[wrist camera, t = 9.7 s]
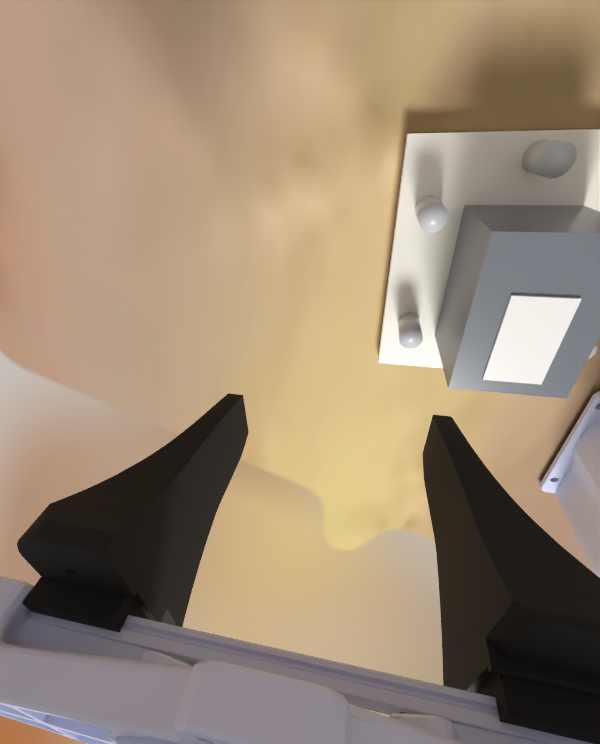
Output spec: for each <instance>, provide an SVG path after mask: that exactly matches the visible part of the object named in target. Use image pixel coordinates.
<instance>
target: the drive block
mask: <svg viewBox="0 0 600 744" xmlns="http://www.w3.org/2000/svg"><path fill="white" fill-rule="evenodd" d="M435 338H436V342H437V346H438V350H439V354H440V358H441V361H442V365H443V369H444V373H445V377H446V381H447V385H448V388H454V389H465V390H476V391H488V392H499V393H510V394H522V395H533V396H544V397H556V398H567V397H568V395H569V393H570V391H571V389H572V388H573V386H574V384H575V382H576V380H577V378H578V376H579V375H580V373H581V371H582V369H583V367H584V365H585V364H586V362H587V360H588V358H589V356H590V354H591V352H592V351H593V349H594V347H595V345H596V343H597V341H598V339H599V338H600V212H599V211H596V210H594V209H591V208H589V207H586V206H578V205H464V209H463V214H462V218H461V223H460V227H459V232H458V236H457V240H456V245H455V249H454V254H453V258H452V262H451V267H450V271H449V276H448V280H447V285H446V289H445V293H444V298H443V302H442V307H441V311H440V316H439V320H438V324H437V329H436V333H435Z"/></svg>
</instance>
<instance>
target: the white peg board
mask: <svg viewBox="0 0 600 744" xmlns="http://www.w3.org/2000/svg"><path fill="white" fill-rule="evenodd" d="M464 205H578V206H586V207H589V208H591V209H594V210H596V211H599V212H600V129H576V130H533V131H491V132H448V133H407V135H406V143H405V151H404V159H403V167H402V174H401V182H400V190H399V198H398V206H397V214H396V221H395V229H394V237H393V245H392V253H391V261H390V269H389V276H388V284H387V292H386V300H385V308H384V316H383V323H382V331H381V339H380V347H379V355H378V363H386V364H398V365H410V366H422V367H434V368H443V365H442V361H441V358H440V354H439V350H438V346H437V342H436V338H435V333H436V329H437V324H438V320H439V316H440V311H441V307H442V302H443V298H444V293H445V289H446V285H447V280H448V276H449V271H450V267H451V262H452V258H453V254H454V249H455V245H456V240H457V236H458V232H459V227H460V223H461V218H462V214H463V209H464ZM597 348H598V347H597V344H596V345H595V347H594V349H593V351H592V352H591V354H590V356H589V358H591V357H592V356H594V355H595V353H596V352H597ZM589 358H588V359H589Z"/></svg>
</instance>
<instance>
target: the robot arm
mask: <svg viewBox="0 0 600 744" xmlns="http://www.w3.org/2000/svg"><path fill="white" fill-rule="evenodd" d="M598 404H600V391H599V392H597V393H595V394H594V395H593V396H592V397H591V399H590V401H589V403H588V404H587V406H586V408H585V409H584V411H583V413H582V414H581V416H580V418H579V419H578V421H577V423H576V424H575V426H574V428H573V429H572V431H571V433H570V434H569V436H568V438H567V439H566V441H565V443H564V444H563V446H562V448H561V449H560V451H559V453H558V454H557V456H556V458H555V459H554V461H553V463H552V464H551V466H550V468H549V469H548V471H547V473H546V474H545V476H544V478H543V479H542V481H541V483H540V487H541V489H542V491H544V492H549V493H555V494H556V496H557V498H558V500H559V502H560V504H561V506H562V509H563V511H564V513H565V515H566V517H567V519H568V521H569V523H570V525H571V528H572V530H573V532H574V534H575V536H576V538H577V540H578V542H579V544H580V547H581V549H582V551H583V553H584V555H585V557H586V559H587V561H588V563H589V565H590V567H591V569H592V571H593V572H594V573H593V572H592V571H590V570H589V569H588V568H587V567H586V566H584V565H583V564H582V563H581V562H579V561H578V560H577V559H576V558H575V557H573V556H572V555H571V554H570V553H569V552H567V551H566V550H565V549H564V548H563V547H562V546H560V545H559V544H558V543H557V542H556V541H555V540H554V539H553V538H552V537H551V536H549V535H548V534H547V533H546V532H545V531H544V530H543V529H542V528H541V527H540V526H539V525H537V524H536V523H535V522H534V521H533V520H532V519H531V518H530V517H529V516H528V515H527V514H526V513H525V512H524V511H523V510H522V509H521V507H520V506H519V505H518V504H517V503H516V502H515V501H514V500H513V499H512V498H511V497H510V496H509V494H508V493H507V492H506V491H505V490H504V489H503V487H502V486H501V485H500V484H499V483H498V481H497V480H496V479H495V478H494V477H493V475H492V474H491V473H490V471H489V470H488V469H487V468H486V466H485V465H484V464H483V462H482V461H481V460H480V458H479V457H478V455H477V454H476V453H475V451H474V450H473V448H472V447H471V446H470V444H469V443H468V441H467V440H466V438H465V437H464V435H463V434H462V432H461V431H460V429H459V428H458V426H457V424H456V423H455V421H454V420H453V418H452V417H449V416H439V415H433V417H432V421H431V425H430V429H429V432H428V436H427V440H426V444H425V447H424V451H423V468H424V481H425V487H426V493H427V498H428V504H429V509H430V515H431V520H432V526H433V531H434V537H435V543H436V551H437V563H438V577H439V591H440V606H441V627H442V648H443V649H442V650H443V680H444V681H443V682H444V686H442V685H437V684H433V683H429V682H424V681H420V680H415V679H411V678H407V677H402V676H397V675H393V674H389V673H384V672H380V671H375V670H371V669H366V668H362V667H357V666H353V665H348V664H344V663H340V662H335V661H330V660H326V659H322V658H317V657H313V656H308V655H304V654H299V653H295V652H290V651H286V650H282V649H277V648H272V647H268V646H264V645H259V644H255V643H250V642H246V641H241V640H237V639H233V638H228V637H224V636H219V635H215V634H210V633H206V632H201V631H197V630H192V629H188V628H184V627H182V626H183V621H184V617H185V614H186V610H187V606H188V602H189V598H190V595H191V591H192V588H193V584H194V581H195V577H196V574H197V570H198V567H199V563H200V560H201V557H202V554H203V551H204V547H205V544H206V541H207V538H208V535H209V532H210V529H211V526H212V523H213V520H214V517H215V514H216V512H217V509H218V507H219V504H220V502H221V499H222V497H223V495H224V493H225V491H226V489H227V487H228V484H229V482H230V480H231V478H232V476H233V473H234V471H235V469H236V467H237V464H238V462H239V460H240V458H241V455H242V452H243V449H244V446H245V443H246V439H247V436H248V426H247V420H246V413H245V406H244V400H243V395H236V394H227V395H226V396H225V397H224V398H223V399H221V400H220V401H219V402H218V403H217V404H216V405H215V406H213V407H212V408H211V409H210V410H209V411H208V412H207V413H205V414H204V415H203V416H202V417H201V418H200V419H198V420H197V421H196V422H195V423H194V424H192V425H191V426H190V427H189V428H188V429H186V430H185V431H184V432H183V433H181V434H180V435H179V436H177V437H176V438H175V439H173V440H172V441H171V442H169V443H168V444H167V445H166V446H164V447H162V448H161V449H159V450H158V451H156V452H155V453H153V454H152V455H150V456H149V457H147V458H145V459H144V460H142V461H140V462H139V463H137V464H135V465H133V466H131V467H130V468H128V469H126V470H124V471H123V472H121V473H119V474H118V475H115V476H113V477H111V478H109V479H107V480H105V481H103V482H101V483H99V484H97V485H95V486H92V487H90V488H88V489H86V490H83V491H81V492H79V493H76V494H74V495H71V496H69V497H66V498H64V499H61V500H59V501H56V502H54V503H51V504H50V505H49V506H48V507H47V508H46V509H45V510H44V511H43V513H42V514H41V515H40V516H39V517H38V518H37V520H35V522H34V523H33V524H32V525H31V526H30V528H29V529H28V530H27V531H26V532H25V533H24V534H23V535H22V537H21V538H20V539H19V540H18V543H17V546H18V550H19V552H20V554H21V555H22V556H23V557H24V558H25V560H27V562H28V563H29V564H30V565H31V566H32V567H33V568H34V569H35V570H36V571H37V572H38V573H39V574H40V575H41V576H42V577H41V578H40V579H39V581H38V582H37V583H36V585H35V586H33V585H31V584H29V583H26V582H23V581H19V580H15V579H10V578H6V577H1V576H0V715H1V716H4V717H7V718H10V719H14V720H17V721H20V722H23V723H26V724H29V725H32V726H35V727H39V728H42V729H45V730H48V731H51V732H54V733H57V734H60V735H63V736H66V737H69V738H72V739H75V740H78V741H81V742H84V743H88V744H600V405H599V406H597V405H598ZM366 709H367V710H366ZM369 710H372V711H376V712H380V713H384V714H388V715H390V716H389V717H386V716H383V715H380V714H378V713H375V712H372V711H369Z"/></svg>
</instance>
